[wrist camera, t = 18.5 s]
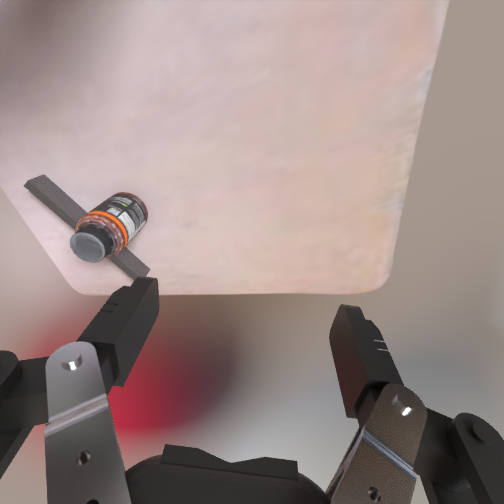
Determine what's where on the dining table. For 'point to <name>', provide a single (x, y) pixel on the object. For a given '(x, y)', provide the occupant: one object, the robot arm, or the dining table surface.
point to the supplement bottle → (108, 227)
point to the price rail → (73, 213)
